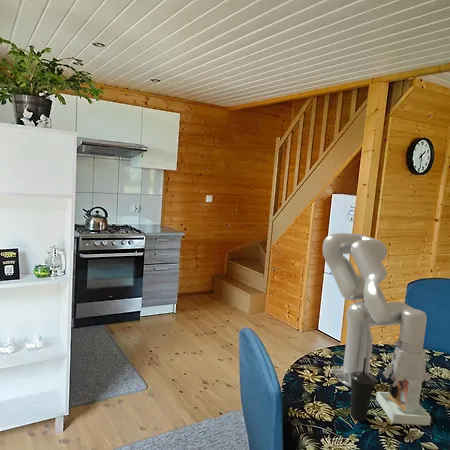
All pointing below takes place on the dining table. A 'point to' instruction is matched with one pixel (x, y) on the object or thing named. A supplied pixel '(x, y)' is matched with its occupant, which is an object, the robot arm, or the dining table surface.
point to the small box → (407, 394)
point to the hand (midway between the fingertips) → (403, 396)
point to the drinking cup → (361, 393)
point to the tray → (402, 412)
